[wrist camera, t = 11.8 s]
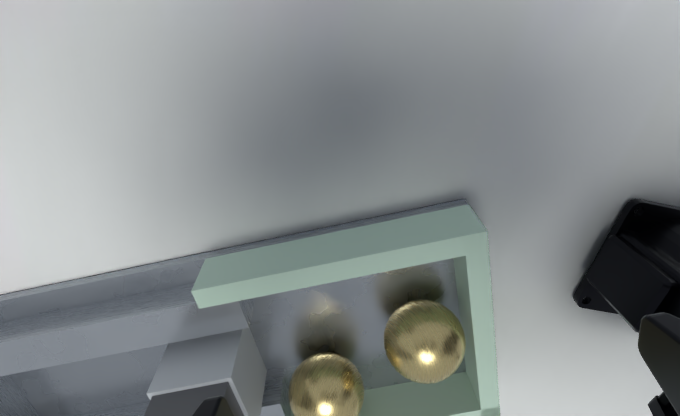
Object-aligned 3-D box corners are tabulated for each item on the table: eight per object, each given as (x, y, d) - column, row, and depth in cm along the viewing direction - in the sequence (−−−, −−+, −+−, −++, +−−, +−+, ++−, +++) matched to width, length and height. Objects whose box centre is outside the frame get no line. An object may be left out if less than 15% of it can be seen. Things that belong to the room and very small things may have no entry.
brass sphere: (335, 461, 20) (266, 427, 22) (367, 430, 24) (305, 404, 25) (352, 376, 20) (282, 349, 22) (381, 358, 24) (319, 337, 25)
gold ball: (480, 314, 19) (405, 355, 18) (486, 376, 21) (417, 416, 20) (429, 273, 23) (363, 305, 22) (437, 329, 24) (377, 361, 23)
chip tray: (468, 204, 20) (487, 231, 18) (484, 380, 26) (500, 418, 23) (205, 258, 21) (191, 291, 19) (273, 418, 26) (268, 459, 24)
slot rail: (464, 198, 21) (480, 221, 19) (480, 372, 26) (495, 406, 24) (-49, 305, 22) (-88, 338, 20) (64, 448, 28) (43, 486, 26)
